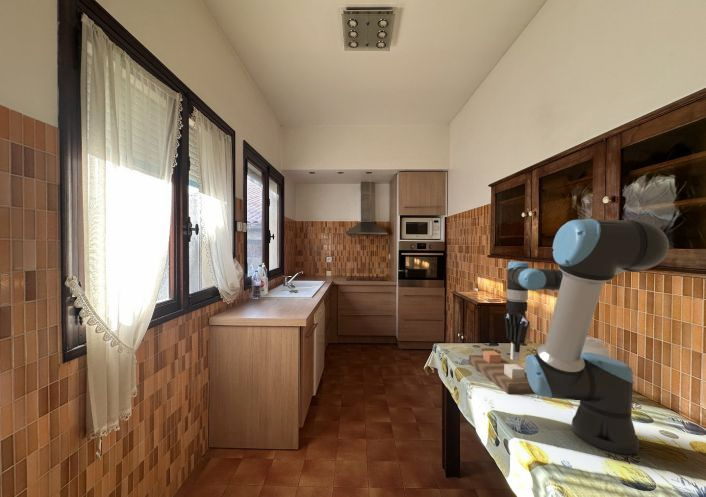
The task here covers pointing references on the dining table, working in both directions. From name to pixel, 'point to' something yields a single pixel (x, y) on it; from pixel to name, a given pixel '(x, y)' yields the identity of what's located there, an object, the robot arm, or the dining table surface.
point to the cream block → (514, 371)
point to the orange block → (491, 356)
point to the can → (595, 347)
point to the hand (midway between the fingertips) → (514, 359)
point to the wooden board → (500, 375)
